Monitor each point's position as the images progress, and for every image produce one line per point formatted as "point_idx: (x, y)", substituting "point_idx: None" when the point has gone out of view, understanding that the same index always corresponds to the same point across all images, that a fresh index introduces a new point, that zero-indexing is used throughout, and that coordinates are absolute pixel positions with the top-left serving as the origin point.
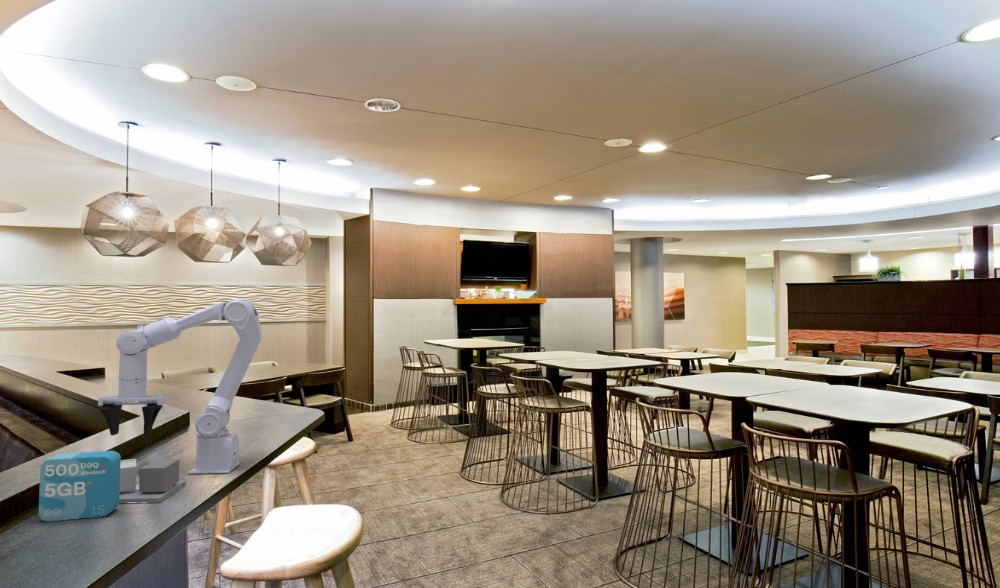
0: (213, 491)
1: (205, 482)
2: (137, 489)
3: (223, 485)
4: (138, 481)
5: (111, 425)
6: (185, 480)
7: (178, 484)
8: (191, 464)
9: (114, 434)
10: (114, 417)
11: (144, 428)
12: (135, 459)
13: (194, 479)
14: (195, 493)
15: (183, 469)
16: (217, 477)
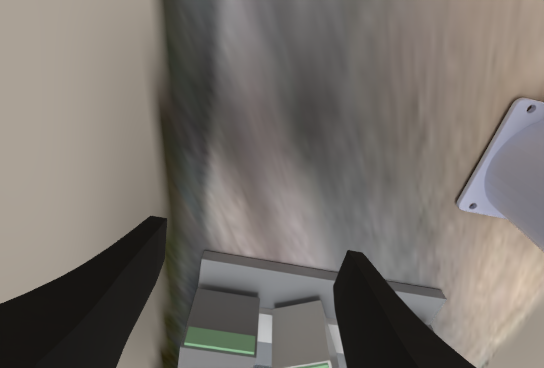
0: (496, 342)
1: (490, 283)
2: (340, 352)
3: (527, 313)
4: (323, 279)
5: (134, 320)
6: (445, 300)
7: (426, 323)
8: (476, 60)
9: (164, 253)
10: (110, 346)
11: (342, 327)
12: (329, 363)
13: (466, 253)
14: (457, 344)
15: (440, 133)
16: (530, 251)
